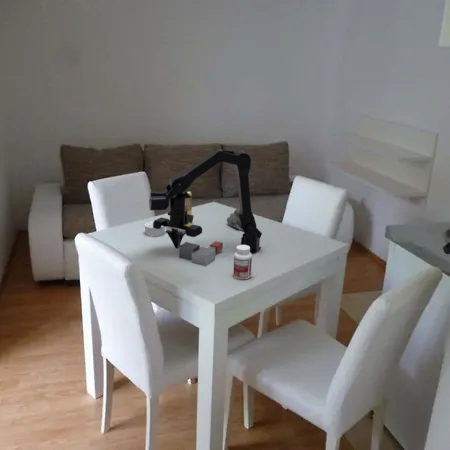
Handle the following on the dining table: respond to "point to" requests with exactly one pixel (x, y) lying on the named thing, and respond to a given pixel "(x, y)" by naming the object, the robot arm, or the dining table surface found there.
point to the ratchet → (206, 254)
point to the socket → (187, 250)
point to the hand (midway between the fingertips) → (177, 248)
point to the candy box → (188, 206)
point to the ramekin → (153, 230)
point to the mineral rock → (233, 219)
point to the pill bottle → (242, 262)
